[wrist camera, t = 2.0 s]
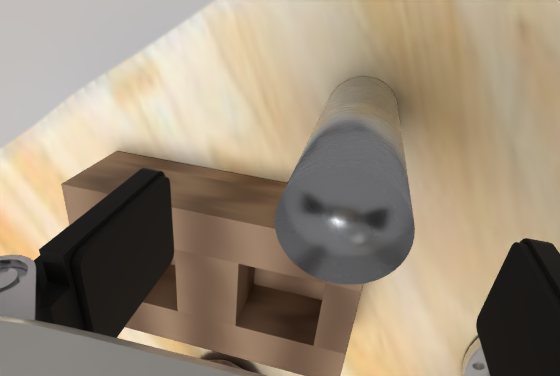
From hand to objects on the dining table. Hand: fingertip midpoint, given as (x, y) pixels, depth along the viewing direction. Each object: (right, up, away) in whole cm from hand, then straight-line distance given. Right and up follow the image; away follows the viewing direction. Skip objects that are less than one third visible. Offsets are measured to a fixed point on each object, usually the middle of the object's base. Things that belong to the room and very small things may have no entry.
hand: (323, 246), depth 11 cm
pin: (+4, +6, +14) cm, 16 cm away
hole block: (-5, -3, +21) cm, 21 cm away
